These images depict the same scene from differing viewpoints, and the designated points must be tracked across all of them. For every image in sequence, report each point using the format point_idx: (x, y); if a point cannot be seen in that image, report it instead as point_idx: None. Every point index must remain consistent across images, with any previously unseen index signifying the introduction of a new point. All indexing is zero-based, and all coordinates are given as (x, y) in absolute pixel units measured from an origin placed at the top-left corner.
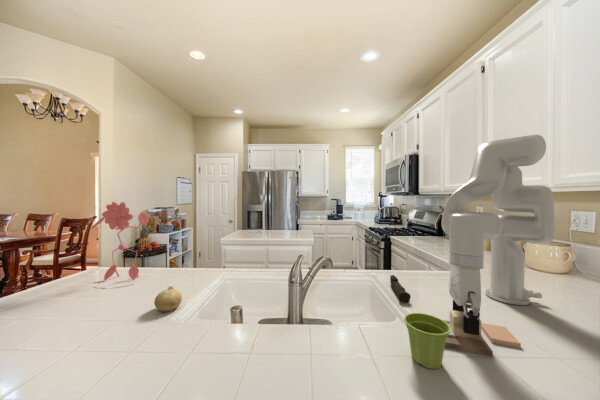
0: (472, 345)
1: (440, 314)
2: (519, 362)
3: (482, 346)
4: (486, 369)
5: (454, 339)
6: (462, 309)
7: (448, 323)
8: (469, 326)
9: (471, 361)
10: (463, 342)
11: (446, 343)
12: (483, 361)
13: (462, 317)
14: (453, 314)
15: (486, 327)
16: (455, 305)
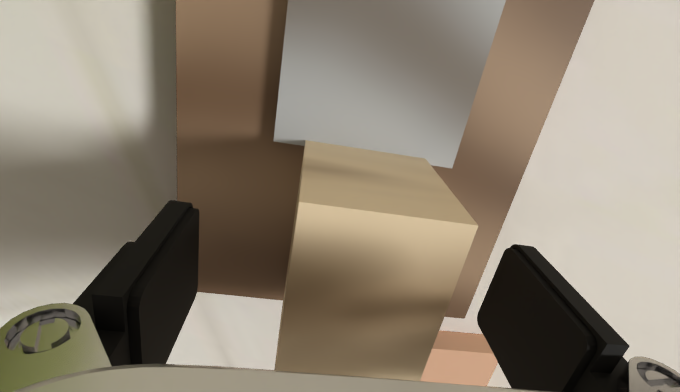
0: (205, 209)
1: (657, 175)
2: (185, 354)
3: (214, 261)
4: (35, 188)
5: (243, 118)
6: (509, 342)
7: (481, 169)
8: (106, 270)
9: (78, 138)
10: (222, 167)
11: (177, 31)
12: (114, 206)
13: (298, 281)
14: (356, 219)
15: (449, 363)
16: (551, 317)
